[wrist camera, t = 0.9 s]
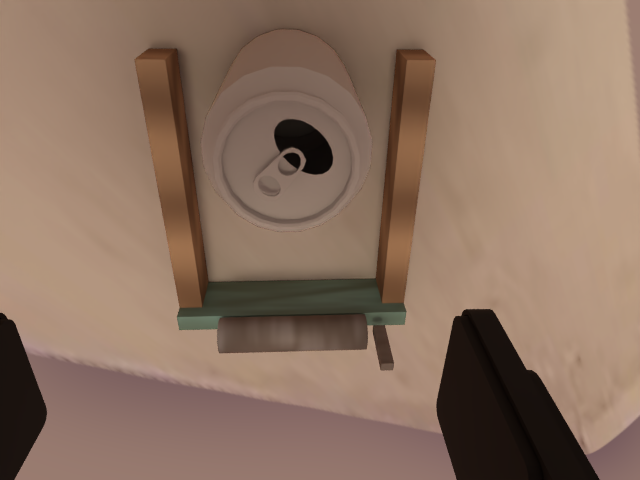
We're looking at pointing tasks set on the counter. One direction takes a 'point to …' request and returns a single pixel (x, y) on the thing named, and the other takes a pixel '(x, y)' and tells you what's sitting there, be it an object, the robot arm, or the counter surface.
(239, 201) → the can
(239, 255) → the counter surface
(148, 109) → the bay
